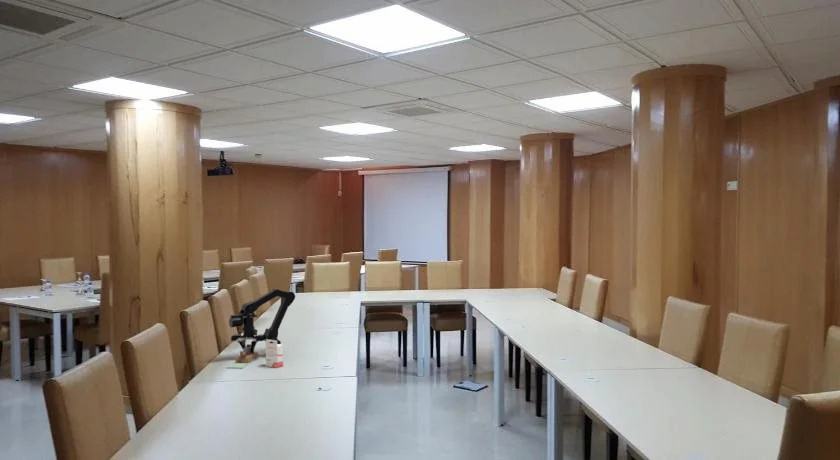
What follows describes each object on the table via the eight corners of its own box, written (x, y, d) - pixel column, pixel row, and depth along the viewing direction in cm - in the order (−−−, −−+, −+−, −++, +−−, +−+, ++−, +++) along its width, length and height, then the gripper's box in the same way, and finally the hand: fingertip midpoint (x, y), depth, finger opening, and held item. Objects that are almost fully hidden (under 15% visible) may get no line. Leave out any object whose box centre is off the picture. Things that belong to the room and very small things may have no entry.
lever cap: (254, 352, 329) (254, 343, 329) (250, 355, 323) (250, 346, 323) (247, 352, 329) (247, 343, 329) (243, 354, 323) (243, 346, 323)
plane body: (258, 356, 332) (258, 346, 331) (247, 363, 316) (247, 352, 316) (246, 356, 332) (246, 346, 332) (235, 363, 316) (235, 352, 316)
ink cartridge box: (283, 365, 310) (283, 339, 310) (277, 368, 306) (277, 340, 306) (271, 364, 314) (271, 337, 314) (265, 366, 310) (265, 339, 310)
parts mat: (248, 364, 314) (248, 363, 314) (242, 368, 305) (242, 367, 305) (232, 364, 315) (232, 363, 315) (226, 368, 306) (225, 367, 306)
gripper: (269, 323, 333) (269, 349, 333) (238, 322, 334) (238, 349, 335) (262, 326, 322) (262, 354, 322) (230, 326, 323) (230, 353, 324)
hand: (248, 352), depth 326 cm, fingers closed on lever cap, 4 cm apart
